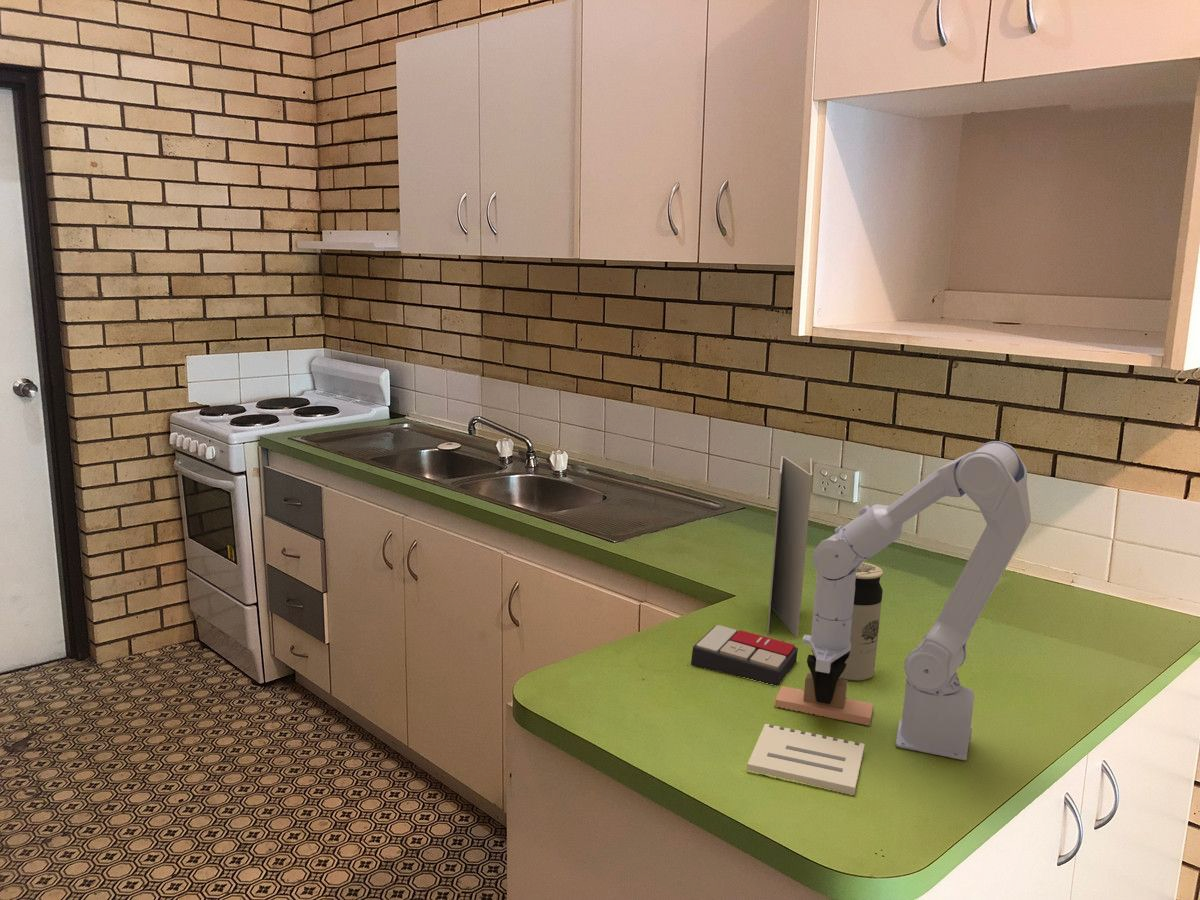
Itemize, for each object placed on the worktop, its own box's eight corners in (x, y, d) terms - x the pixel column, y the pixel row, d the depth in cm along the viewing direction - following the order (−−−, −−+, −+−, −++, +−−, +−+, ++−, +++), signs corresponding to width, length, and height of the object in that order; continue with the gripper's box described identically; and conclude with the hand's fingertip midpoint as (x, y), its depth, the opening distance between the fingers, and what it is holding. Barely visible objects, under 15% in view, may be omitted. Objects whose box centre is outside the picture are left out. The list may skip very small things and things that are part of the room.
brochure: (798, 637, 175) (812, 475, 168) (766, 634, 176) (779, 472, 170) (798, 609, 189) (811, 458, 182) (769, 606, 190) (781, 455, 183)
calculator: (780, 667, 155) (692, 642, 161) (776, 692, 156) (689, 666, 162) (799, 643, 164) (715, 620, 171) (796, 666, 165) (713, 643, 172)
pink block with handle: (872, 710, 148) (875, 681, 147) (869, 725, 144) (872, 695, 143) (780, 693, 153) (783, 664, 152) (774, 706, 148) (777, 677, 147)
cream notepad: (863, 751, 136) (864, 743, 136) (854, 796, 125) (855, 786, 125) (764, 731, 141) (765, 723, 141) (746, 772, 130) (747, 763, 130)
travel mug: (815, 664, 164) (824, 562, 160) (855, 658, 167) (865, 558, 163) (842, 684, 157) (852, 578, 153) (883, 678, 160) (895, 574, 156)
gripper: (813, 593, 153) (805, 673, 156) (797, 626, 140) (790, 713, 143) (859, 600, 151) (851, 682, 154) (848, 634, 137) (839, 723, 140)
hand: (824, 697), depth 148 cm, fingers closed on pink block with handle, 2 cm apart
